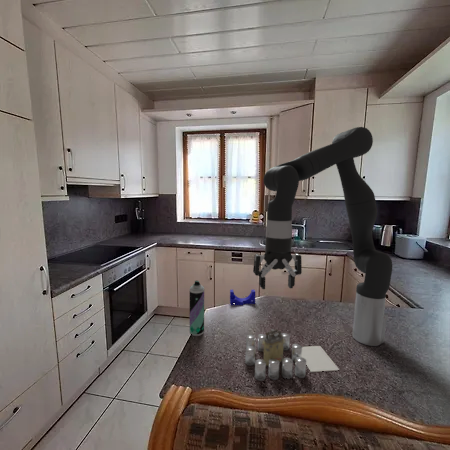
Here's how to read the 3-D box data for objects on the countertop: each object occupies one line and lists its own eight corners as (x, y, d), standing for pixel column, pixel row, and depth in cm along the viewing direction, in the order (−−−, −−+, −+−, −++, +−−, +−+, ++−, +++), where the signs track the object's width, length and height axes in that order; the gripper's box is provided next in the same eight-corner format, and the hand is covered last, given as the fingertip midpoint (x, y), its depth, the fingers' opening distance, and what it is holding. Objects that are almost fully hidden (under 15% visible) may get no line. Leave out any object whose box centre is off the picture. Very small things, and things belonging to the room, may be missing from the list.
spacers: (291, 344, 89) (292, 332, 88) (312, 377, 73) (313, 363, 72) (240, 347, 87) (241, 335, 86) (250, 381, 71) (251, 366, 70)
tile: (320, 346, 88) (320, 345, 88) (339, 370, 76) (339, 369, 76) (295, 348, 87) (295, 347, 87) (310, 372, 75) (310, 371, 75)
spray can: (186, 331, 96) (186, 281, 93) (198, 326, 100) (198, 277, 97) (195, 337, 92) (195, 284, 89) (207, 332, 96) (207, 281, 93)
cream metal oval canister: (277, 354, 83) (278, 325, 82) (286, 360, 80) (287, 331, 79) (260, 361, 79) (261, 331, 78) (268, 368, 76) (270, 337, 75)
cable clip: (230, 305, 120) (230, 293, 119) (229, 301, 124) (230, 289, 123) (255, 305, 120) (255, 293, 120) (254, 301, 125) (254, 289, 124)
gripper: (296, 233, 79) (294, 283, 81) (252, 233, 78) (251, 284, 80) (307, 237, 72) (304, 292, 74) (258, 237, 70) (256, 293, 72)
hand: (276, 287), depth 77 cm, fingers open, 8 cm apart
